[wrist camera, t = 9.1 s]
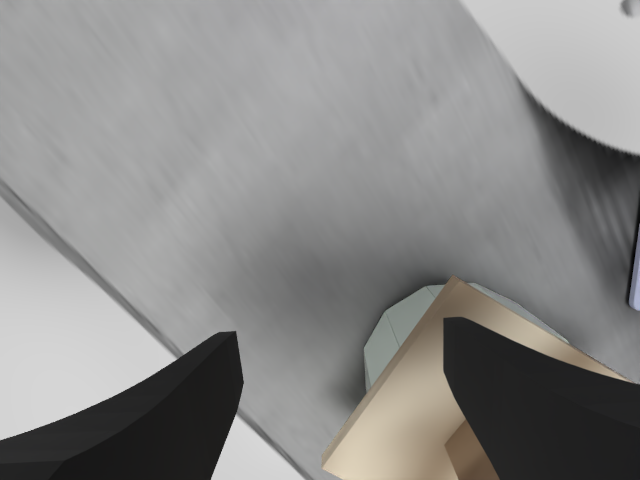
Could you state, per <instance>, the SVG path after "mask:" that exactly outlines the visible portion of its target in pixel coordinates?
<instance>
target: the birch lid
mask: <svg viewBox="0 0 640 480" xmlns="http://www.w3.org/2000/svg"><path fill="white" fill-rule="evenodd" d="M447 317H464V318H467V319H469V320H471V321H474V322H476V323H478V324H480V325H482V326H484V327H486V328H488V329H490V330H492V331H494V332H496V333H499V334H501V335H503V336H505V337H507V338H509V339H511V340H513V341H515V342H518V343H520V344H522V345H524V346H526V347H529V348H531V349H533V350H536V351H538V352H540V353H543V354H545V355H548V356H550V357H553V358H555V359H558V360H561V361H564V362H566V363H569V364H572V365H575V366H578V367H581V368H584V369H586V370H590V371H593V372H596V373H599V374H602V375H606V376H610V377H613V378H617V379H620V380H624V381H628V382H631V383H634V382H632V381H631V380H629V379H627V378H626V377H624V376H622V375H620V374H619V373H617V372H615V371H614V370H612V369H610V368H609V367H607V366H605V365H604V364H602V363H600V362H599V361H597V360H595V359H594V358H592V357H590V356H589V355H587V354H585V353H584V352H582V351H580V350H578V349H577V348H575V347H573V346H572V345H570V344H568V343H567V342H565V341H563V340H562V339H560V338H558V337H557V336H555V335H553V334H552V333H550V332H548V331H547V330H545V329H543V328H542V327H540V326H538V325H537V324H535V323H533V322H531V321H530V320H528V319H526V318H525V317H523V316H521V315H520V314H518V313H516V312H515V311H513V310H511V309H510V308H508V307H506V306H505V305H503V304H501V303H500V302H498V301H496V300H495V299H493V298H491V297H489V296H488V295H486V294H484V293H483V292H481V291H479V290H478V289H476V288H474V287H473V286H471V285H469V284H468V283H466V282H464V281H463V280H461V279H459V278H458V277H456V276H454V275H452V276H451V278H450V279H449V280H448V282H447V283H446V285H445V286H444V287H443V289H442V290H441V291H440V293H439V294H438V296H437V297H436V298H435V300H434V301H433V303H432V304H431V305H430V307H429V308H428V309H427V311H426V312H425V314H424V315H423V316H422V318H421V319H420V320H419V322H418V323H417V325H416V326H415V327H414V329H413V330H412V331H411V333H410V334H409V336H408V337H407V338H406V340H405V341H404V343H403V344H402V345H401V347H400V348H399V349H398V351H397V352H396V354H395V355H394V356H393V358H392V359H391V360H390V362H389V363H388V365H387V366H386V367H385V369H384V370H383V372H382V373H381V374H380V376H379V377H378V378H377V380H376V381H375V383H374V384H373V385H372V387H371V388H370V389H369V391H368V392H367V394H366V395H365V396H364V398H363V399H362V401H361V402H360V403H359V405H358V406H357V407H356V409H355V410H354V412H353V413H352V414H351V416H350V417H349V418H348V420H347V421H346V423H345V424H344V425H343V427H342V428H341V429H340V431H339V432H338V434H337V435H336V436H335V438H334V439H333V441H332V442H331V443H330V445H329V446H328V447H327V449H326V450H325V452H324V453H323V454H322V469H323V470H325V471H327V472H329V473H331V474H333V475H335V476H337V477H339V478H341V479H343V480H500V479H499V477H498V475H497V473H496V471H495V470H494V468H493V466H492V464H491V462H490V460H489V458H488V457H487V455H486V453H485V451H484V450H483V448H482V446H481V444H480V443H479V441H478V439H477V437H476V436H475V434H474V432H473V430H472V429H471V427H470V425H469V423H468V422H467V420H466V418H465V416H464V415H463V413H462V411H461V409H460V408H459V406H458V404H457V402H456V400H455V398H454V396H453V394H452V392H451V389H450V387H449V384H448V382H447V379H446V377H445V374H444V372H443V318H447ZM635 384H636V383H635Z"/></svg>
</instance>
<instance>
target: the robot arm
mask: <svg viewBox="0 0 640 480" xmlns="http://www.w3.org/2000/svg"><path fill="white" fill-rule="evenodd" d="M629 305H630V307H632V308H634V309H636V310H639V311H640V225H639V233H638V240H637V247H636V254H635V262H634V269H633V276H632V283H631V291H630V298H629ZM443 372H444V374H445V377H446V379H447V382H448V384H449V387H450V389H451V392H452V394H453V396H454V398H455V400H456V402H457V404H458V406H459V408H460V409H461V411H462V413H463V415H464V416H465V418H466V420H467V422H468V423H469V425H470V427H471V429H472V430H473V432H474V434H475V436H476V437H477V439H478V441H479V443H480V444H481V446H482V448H483V450H484V451H485V453H486V455H487V457H488V458H489V460H490V462H491V464H492V466H493V468H494V470H495V471H496V473H497V475H498V477H499V479H500V480H640V385H639V384H635V383H631V382H628V381H624V380H620V379H617V378H613V377H610V376H606V375H602V374H599V373H596V372H593V371H590V370H586V369H584V368H581V367H578V366H575V365H572V364H569V363H566V362H564V361H561V360H558V359H555V358H553V357H550V356H548V355H545V354H543V353H540V352H538V351H536V350H533V349H531V348H529V347H526V346H524V345H522V344H520V343H518V342H515V341H513V340H511V339H509V338H507V337H505V336H503V335H501V334H499V333H496V332H494V331H492V330H490V329H488V328H486V327H484V326H482V325H480V324H478V323H476V322H474V321H471V320H469V319H467V318H464V317H447V318H443ZM243 384H244V381H243V374H242V367H241V361H240V354H239V348H238V341H237V334H236V331H232V332H219V333H217V334H215V335H213V336H211V337H210V338H208V339H207V340H205V341H204V342H202V343H201V344H199V345H198V346H196V347H195V348H193V349H192V350H191V351H189V352H188V353H186V354H185V355H183V356H182V357H180V358H179V359H177V360H176V361H174V362H173V363H171V364H169V365H168V366H166V367H165V368H163V369H161V370H160V371H158V372H157V373H155V374H154V375H152V376H150V377H149V378H147V379H145V380H144V381H142V382H140V383H138V384H136V385H135V386H133V387H131V388H129V389H127V390H125V391H123V392H121V393H119V394H117V395H115V396H113V397H112V398H109V399H107V400H105V401H102V402H100V403H98V404H96V405H94V406H91V407H89V408H87V409H85V410H82V411H80V412H78V413H76V414H73V415H71V416H68V417H66V418H63V419H60V420H58V421H56V422H53V423H50V424H48V425H45V426H42V427H39V428H36V429H34V430H31V431H28V432H25V433H22V434H19V435H16V436H13V437H10V438H6V439H3V440H0V480H211V477H212V474H213V472H214V469H215V467H216V464H217V462H218V459H219V456H220V454H221V451H222V449H223V446H224V443H225V441H226V438H227V436H228V433H229V431H230V428H231V425H232V423H233V420H234V417H235V415H236V412H237V409H238V405H239V401H240V397H241V393H242V388H243Z"/></svg>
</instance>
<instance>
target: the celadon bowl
mask: <svg viewBox="0 0 640 480" xmlns="http://www.w3.org/2000/svg"><path fill="white" fill-rule="evenodd" d="M468 284H469V285H471V286H473V287H474V288H476V289H478V290H479V291H481V292H483V293H484V294H486V295H488V296H489V297H491V298H493V299H495V300H496V301H498V302H500V303H501V304H503V305H505V306H506V307H508V308H510V309H511V310H513V311H515V312H516V313H518V314H520V315H521V316H523V317H525V318H526V319H528V320H530V321H531V322H533V323H535V324H537V325H538V326H540V327H542V328H543V329H545V330H547V331H548V332H550V333H552V334H553V335H555V336H557V337H558V338H560V339H562V340H563V341H565V342H567V343H568V344H569V342H568V340H566V339H565V338H564V337H562V336H561V335H560V334H558V333H557V332H556V331H554V330H553V329H551V328H550V327H549V326H547V325H546V324H545V323H543V322H542V321H541V320H539V319H538V318H536V317H535V316H534V315H532V314H531V313H530V312H528V311H527V310H526V309H524V308H523V307H521V306H520V305H519V304H517V303H516V302H514V301H512V300H510V299H508V298H506V297H504V296H502V295H500V294H497V293H495V292H493V291H491V290H489V289H487V288H485V287H483V286H481V285H478V284H476V283H468ZM444 286H445V285H431V286H425V287H423V288H421V289H420V290H418V291H417V292H415V293H413V294H412V295H410V296H408V297H407V298H405V299H403V300H402V301H400V302H399V303H397V304H395V305H394V306H392V307H390V308H389V309H387V310H385V312H384V313H383V315H382V317H381V319H380V321H379V322H378V324H377V326H376V328H375V329H374V331H373V333H372V335H371V336H370V338H369V340H368V342H367V344H366V345H365V347H364V364H365V381H366V392H368V391H369V389H370V388H371V387H372V385H373V384H374V383H375V381H376V380H377V378H378V377H379V376H380V374H381V373H382V372H383V370H384V369H385V367H386V366H387V365H388V363H389V362H390V360H391V359H392V358H393V356H394V355H395V354H396V352H397V351H398V349H399V348H400V347H401V345H402V344H403V343H404V341H405V340H406V338H407V337H408V336H409V334H410V333H411V331H412V330H413V329H414V327H415V326H416V325H417V323H418V322H419V320H420V319H421V318H422V316H423V315H424V314H425V312H426V311H427V309H428V308H429V307H430V305H431V304H432V303H433V301H434V300H435V298H436V297H437V296H438V294H439V293H440V291H441V290H442V289H443V287H444Z"/></svg>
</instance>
